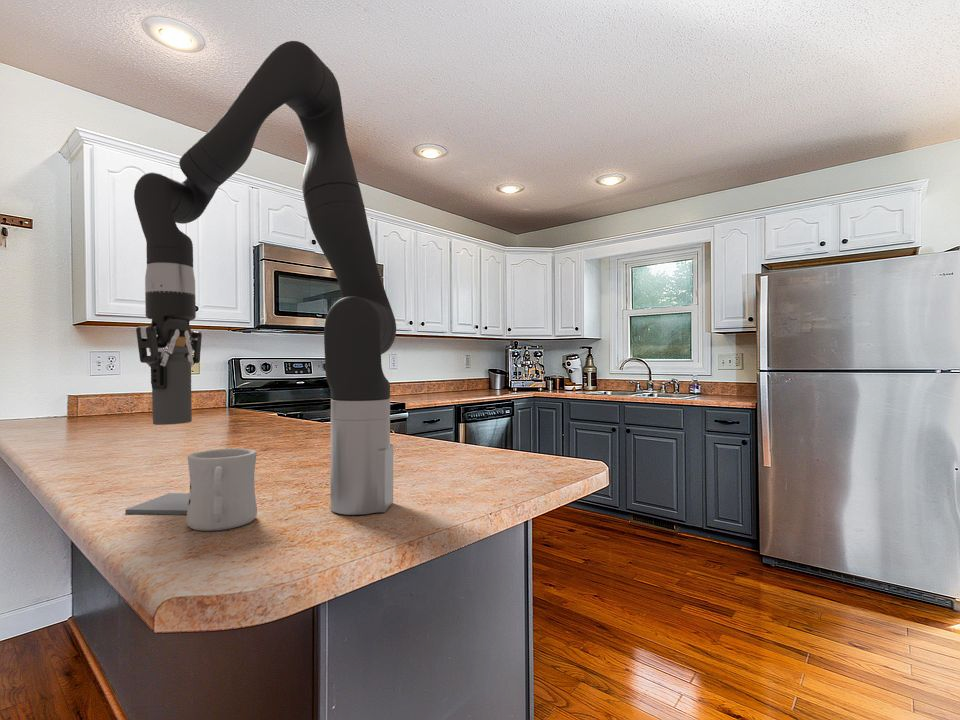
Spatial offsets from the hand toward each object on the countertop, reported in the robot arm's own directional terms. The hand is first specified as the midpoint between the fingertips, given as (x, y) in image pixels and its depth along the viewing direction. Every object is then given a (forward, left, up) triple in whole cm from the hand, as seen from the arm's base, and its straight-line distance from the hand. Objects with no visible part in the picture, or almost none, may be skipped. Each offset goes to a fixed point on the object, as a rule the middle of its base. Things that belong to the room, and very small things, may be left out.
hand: (172, 388), depth 89 cm
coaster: (-5, +6, -19) cm, 20 cm away
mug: (-18, +16, -19) cm, 31 cm away
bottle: (0, 0, -6) cm, 6 cm away
